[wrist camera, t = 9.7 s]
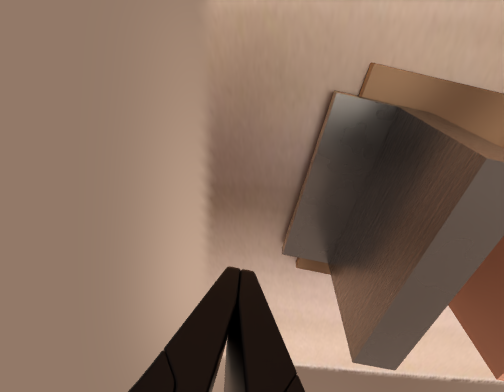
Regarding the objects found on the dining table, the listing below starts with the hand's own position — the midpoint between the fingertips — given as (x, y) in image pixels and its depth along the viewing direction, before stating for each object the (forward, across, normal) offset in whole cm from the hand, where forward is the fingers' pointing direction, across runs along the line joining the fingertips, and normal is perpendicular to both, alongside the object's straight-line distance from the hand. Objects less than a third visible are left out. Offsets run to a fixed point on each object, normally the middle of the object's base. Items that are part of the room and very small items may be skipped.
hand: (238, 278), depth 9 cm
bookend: (+8, -6, 0) cm, 10 cm away
